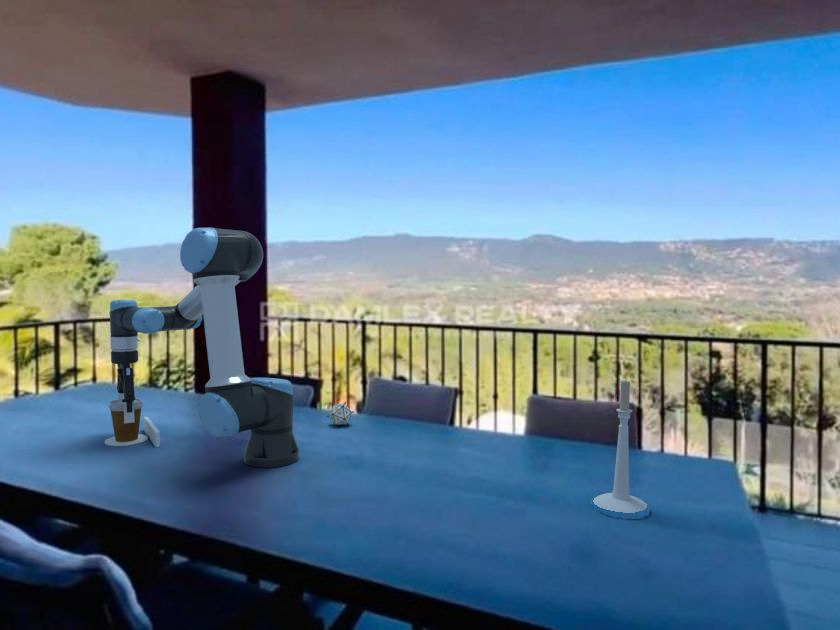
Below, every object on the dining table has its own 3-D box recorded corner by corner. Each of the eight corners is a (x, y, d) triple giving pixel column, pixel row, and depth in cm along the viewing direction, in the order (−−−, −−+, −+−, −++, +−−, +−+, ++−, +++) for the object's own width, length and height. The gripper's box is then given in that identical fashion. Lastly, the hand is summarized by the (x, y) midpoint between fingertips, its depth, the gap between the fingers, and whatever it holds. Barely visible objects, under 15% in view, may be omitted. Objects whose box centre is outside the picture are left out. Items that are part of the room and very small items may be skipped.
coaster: (150, 442, 182) (150, 441, 182) (106, 448, 175) (106, 447, 175) (144, 433, 192) (144, 432, 192) (102, 438, 185) (102, 437, 185)
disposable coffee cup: (118, 445, 177) (118, 406, 176) (103, 439, 182) (102, 401, 181) (149, 438, 184) (149, 400, 183) (134, 433, 190) (133, 396, 189)
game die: (344, 437, 204) (351, 418, 198) (321, 428, 204) (327, 408, 198) (352, 419, 211) (358, 400, 206) (330, 410, 211) (336, 391, 205)
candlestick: (604, 493, 145) (608, 372, 142) (658, 507, 136) (663, 378, 134) (582, 509, 135) (586, 379, 133) (638, 524, 127) (644, 386, 124)
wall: (160, 446, 178) (159, 431, 177) (155, 447, 177) (155, 432, 177) (147, 429, 196) (147, 416, 195) (143, 430, 195) (143, 416, 195)
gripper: (144, 353, 173) (146, 425, 174) (132, 344, 194) (133, 408, 195) (116, 355, 169) (117, 428, 170) (106, 346, 190) (108, 411, 191)
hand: (126, 418), depth 183 cm, fingers open, 13 cm apart
